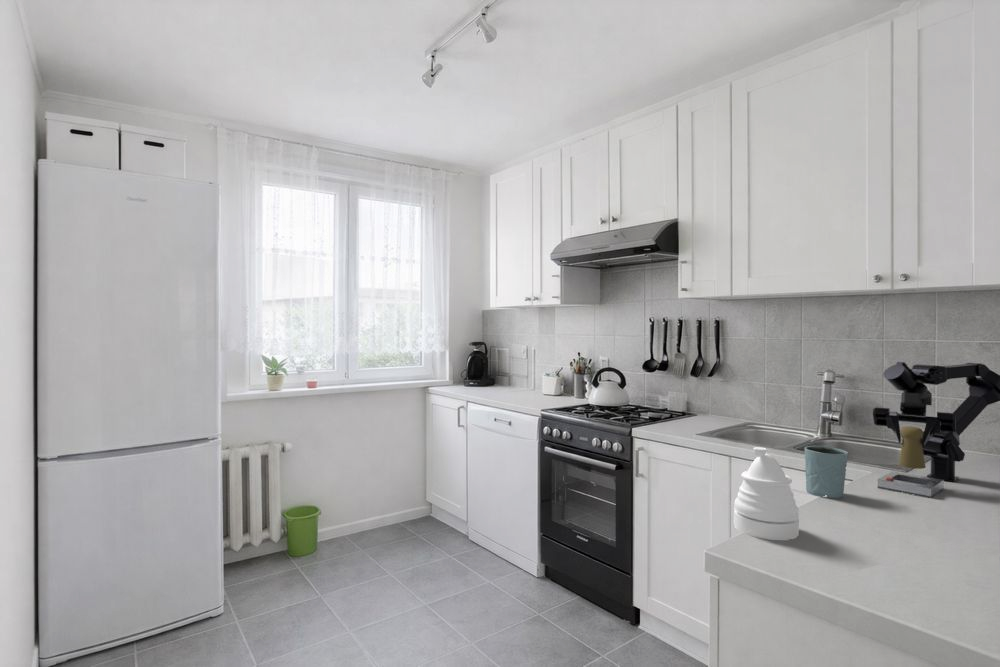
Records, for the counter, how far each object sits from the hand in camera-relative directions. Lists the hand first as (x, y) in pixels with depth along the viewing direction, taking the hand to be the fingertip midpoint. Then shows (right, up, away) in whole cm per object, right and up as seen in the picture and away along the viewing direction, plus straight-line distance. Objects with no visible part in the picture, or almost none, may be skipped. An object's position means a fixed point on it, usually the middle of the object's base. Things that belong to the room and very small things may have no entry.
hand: (911, 443), depth 151 cm
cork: (+1, -7, +1) cm, 7 cm away
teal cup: (-27, -13, -5) cm, 30 cm away
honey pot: (-56, -13, -32) cm, 66 cm away
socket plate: (+1, -13, +1) cm, 13 cm away
